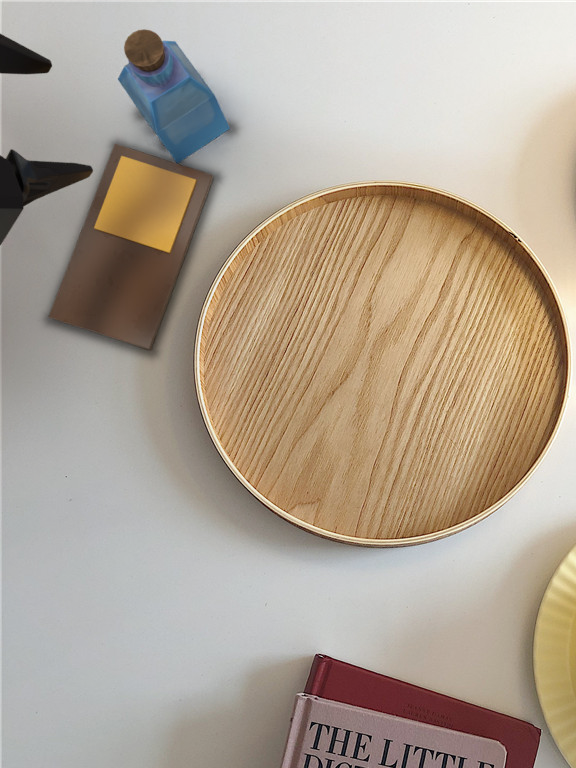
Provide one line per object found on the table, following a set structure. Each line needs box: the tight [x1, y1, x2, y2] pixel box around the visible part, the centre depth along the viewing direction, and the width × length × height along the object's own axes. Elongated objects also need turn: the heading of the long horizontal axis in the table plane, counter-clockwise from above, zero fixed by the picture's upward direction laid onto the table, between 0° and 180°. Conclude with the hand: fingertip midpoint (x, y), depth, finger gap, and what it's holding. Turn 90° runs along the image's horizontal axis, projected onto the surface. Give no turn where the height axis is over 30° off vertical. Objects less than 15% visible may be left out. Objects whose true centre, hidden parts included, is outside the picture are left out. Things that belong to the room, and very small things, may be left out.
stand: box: [48, 143, 215, 351], centre depth 66 cm, size 10×18×1 cm, turn 162°
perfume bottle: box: [117, 28, 231, 164], centre depth 62 cm, size 6×6×12 cm
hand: (70, 119), depth 54 cm, fingers open, 9 cm apart
